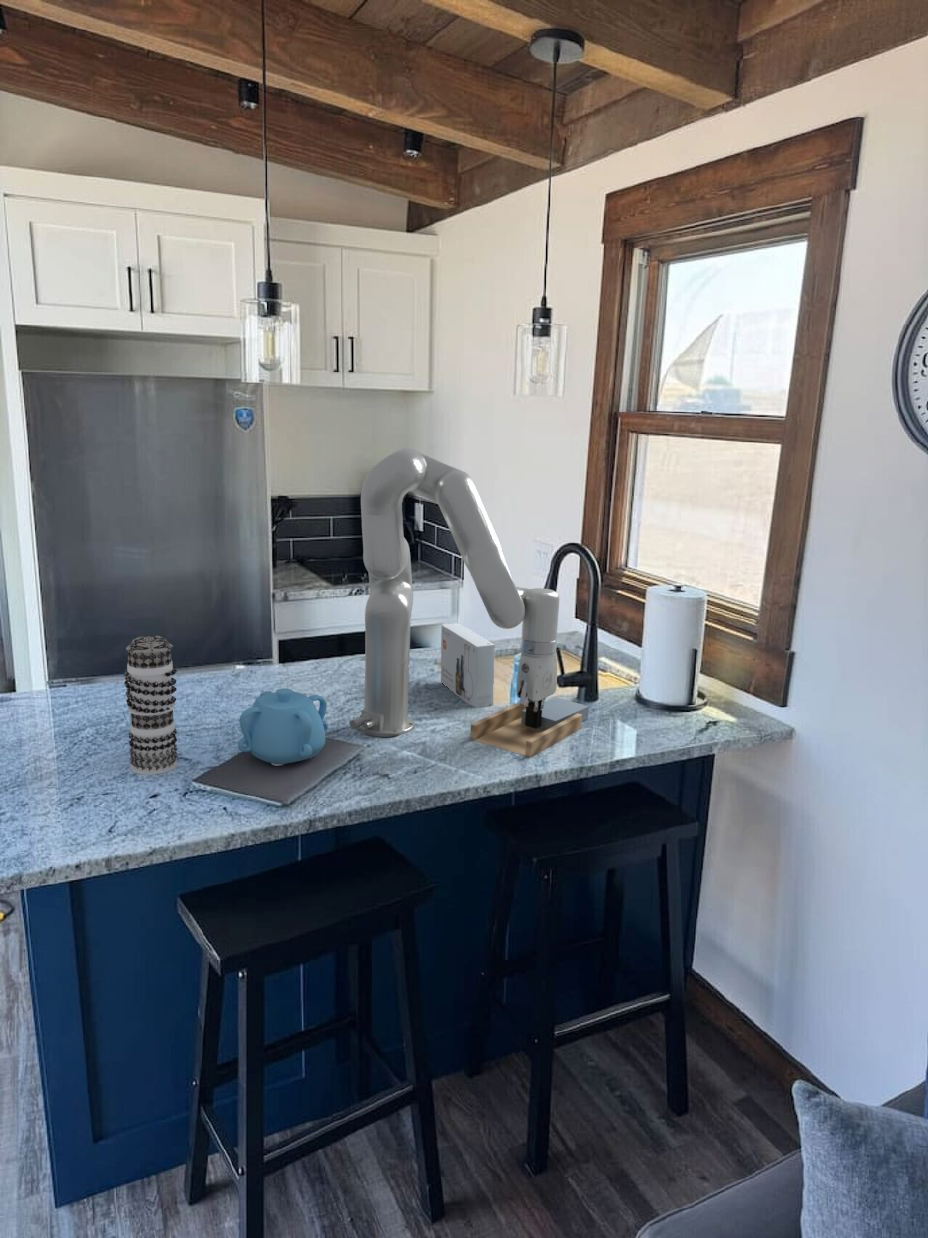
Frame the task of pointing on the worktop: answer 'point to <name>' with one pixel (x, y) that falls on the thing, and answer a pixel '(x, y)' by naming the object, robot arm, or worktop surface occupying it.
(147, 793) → the worktop surface
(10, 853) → the worktop surface
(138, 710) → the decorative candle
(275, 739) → the decorative pot
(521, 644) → the robot arm
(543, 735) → the wooden tray
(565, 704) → the slate cover plate
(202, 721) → the worktop surface
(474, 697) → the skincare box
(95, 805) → the worktop surface
